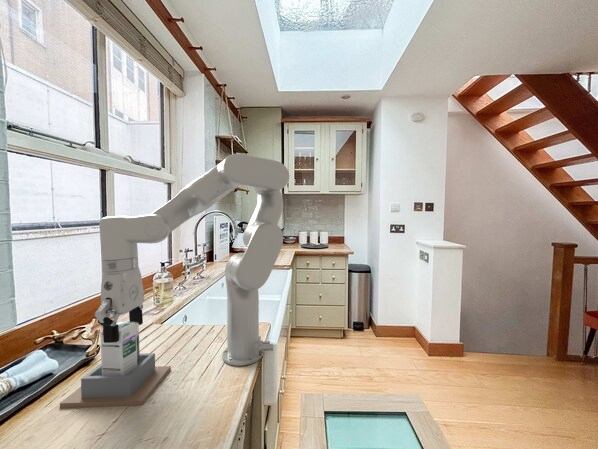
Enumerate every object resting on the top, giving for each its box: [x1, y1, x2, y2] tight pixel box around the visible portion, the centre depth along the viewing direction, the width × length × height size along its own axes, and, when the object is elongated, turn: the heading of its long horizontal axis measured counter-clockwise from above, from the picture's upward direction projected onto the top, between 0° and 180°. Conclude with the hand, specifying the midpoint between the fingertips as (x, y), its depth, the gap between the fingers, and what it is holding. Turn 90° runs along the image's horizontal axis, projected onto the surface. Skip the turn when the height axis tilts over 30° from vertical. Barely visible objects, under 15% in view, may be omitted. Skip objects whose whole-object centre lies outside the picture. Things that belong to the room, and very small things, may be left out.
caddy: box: [59, 352, 172, 409], centre depth 65 cm, size 18×14×6 cm
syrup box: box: [100, 320, 141, 376], centre depth 65 cm, size 6×6×14 cm
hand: (124, 332), depth 65 cm, fingers open, 9 cm apart
